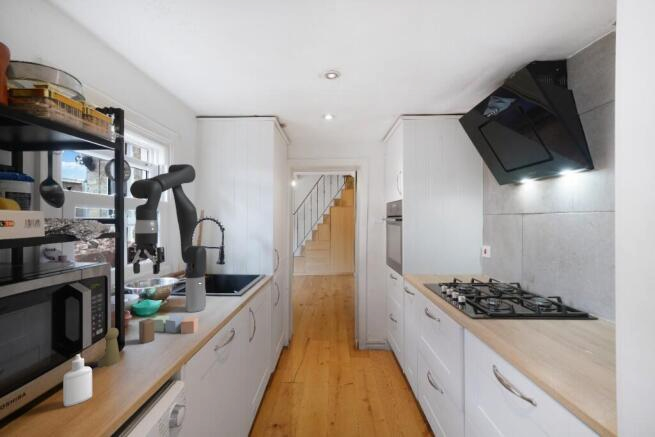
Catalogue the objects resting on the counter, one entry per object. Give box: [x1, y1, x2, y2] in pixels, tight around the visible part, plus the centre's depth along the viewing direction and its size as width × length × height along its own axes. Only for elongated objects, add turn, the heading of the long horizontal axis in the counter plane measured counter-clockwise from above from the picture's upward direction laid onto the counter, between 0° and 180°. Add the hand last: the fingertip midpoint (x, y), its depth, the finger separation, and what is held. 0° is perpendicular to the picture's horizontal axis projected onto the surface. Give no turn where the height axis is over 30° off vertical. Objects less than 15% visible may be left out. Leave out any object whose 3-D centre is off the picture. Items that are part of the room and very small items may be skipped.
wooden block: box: [138, 318, 155, 344], centre depth 114 cm, size 4×4×8 cm
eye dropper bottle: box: [62, 353, 93, 407], centre depth 76 cm, size 4×6×12 cm
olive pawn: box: [97, 327, 121, 368], centre depth 97 cm, size 6×6×11 cm
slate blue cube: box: [165, 315, 185, 334], centre depth 125 cm, size 5×5×5 cm
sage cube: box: [151, 315, 171, 332], centre depth 126 cm, size 5×5×5 cm
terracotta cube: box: [180, 317, 199, 335], centre depth 124 cm, size 5×5×5 cm
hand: (146, 273), depth 114 cm, fingers open, 8 cm apart
